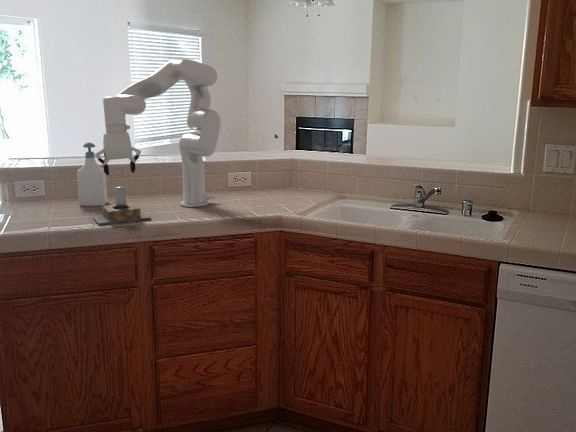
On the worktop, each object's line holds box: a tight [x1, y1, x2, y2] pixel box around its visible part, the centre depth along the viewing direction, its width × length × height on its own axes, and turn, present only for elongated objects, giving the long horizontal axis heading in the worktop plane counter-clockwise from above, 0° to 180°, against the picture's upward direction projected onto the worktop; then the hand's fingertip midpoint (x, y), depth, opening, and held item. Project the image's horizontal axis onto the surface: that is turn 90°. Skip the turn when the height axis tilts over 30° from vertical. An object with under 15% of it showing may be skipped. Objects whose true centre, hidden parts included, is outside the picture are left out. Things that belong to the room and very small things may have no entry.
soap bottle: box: [76, 141, 109, 207], centre depth 242 cm, size 11×8×27 cm
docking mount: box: [92, 202, 152, 227], centre depth 216 cm, size 20×12×5 cm, turn 119°
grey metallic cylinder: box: [114, 185, 127, 209], centre depth 215 cm, size 4×4×12 cm
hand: (120, 173), depth 213 cm, fingers open, 9 cm apart
